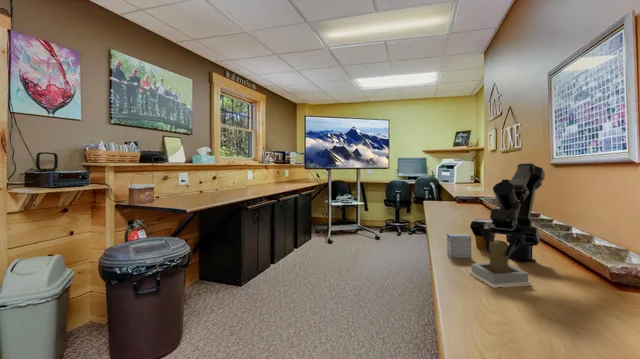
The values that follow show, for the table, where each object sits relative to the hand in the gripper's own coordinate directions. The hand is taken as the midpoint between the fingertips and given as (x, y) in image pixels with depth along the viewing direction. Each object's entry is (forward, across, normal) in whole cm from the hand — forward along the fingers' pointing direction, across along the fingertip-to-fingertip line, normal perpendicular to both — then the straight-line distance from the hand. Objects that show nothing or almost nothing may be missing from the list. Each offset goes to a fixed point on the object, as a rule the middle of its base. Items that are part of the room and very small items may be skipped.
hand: (497, 254), depth 94 cm
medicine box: (-5, -19, +18) cm, 26 cm away
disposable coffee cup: (-19, -16, +31) cm, 40 cm away
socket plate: (+5, 0, +7) cm, 8 cm away
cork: (+4, 0, +6) cm, 8 cm away
